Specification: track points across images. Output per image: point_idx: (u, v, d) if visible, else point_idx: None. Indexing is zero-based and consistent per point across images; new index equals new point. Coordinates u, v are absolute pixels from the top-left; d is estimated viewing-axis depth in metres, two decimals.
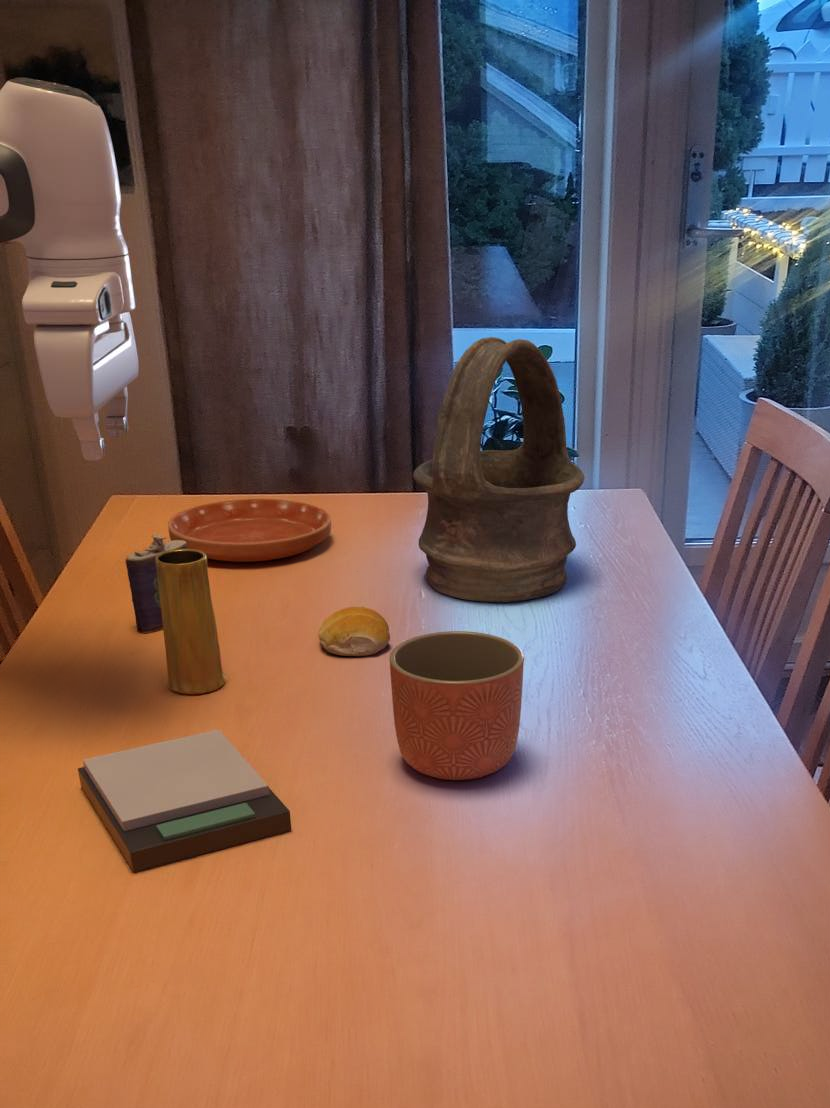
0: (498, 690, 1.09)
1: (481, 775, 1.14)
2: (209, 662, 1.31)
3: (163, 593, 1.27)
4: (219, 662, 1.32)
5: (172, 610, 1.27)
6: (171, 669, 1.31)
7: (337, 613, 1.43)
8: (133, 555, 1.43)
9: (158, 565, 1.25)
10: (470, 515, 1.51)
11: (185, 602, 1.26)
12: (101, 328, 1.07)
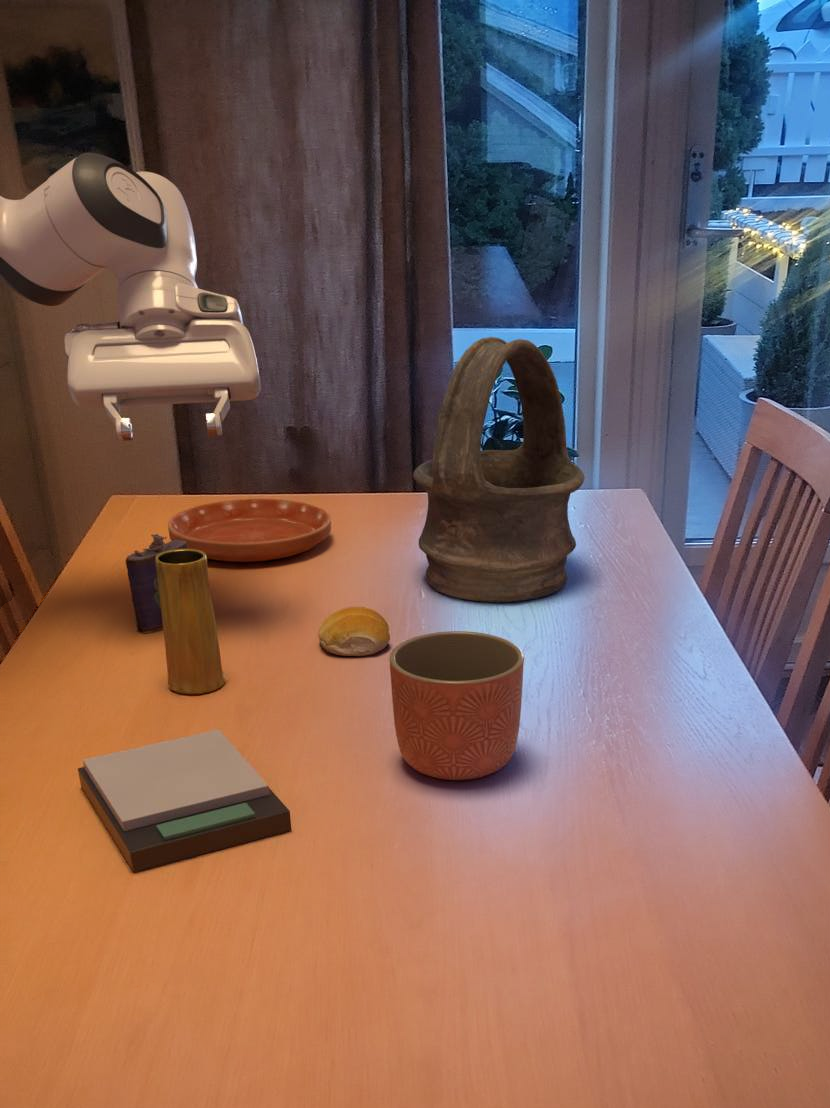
0: (498, 690, 1.09)
1: (481, 775, 1.14)
2: (209, 662, 1.31)
3: (163, 593, 1.27)
4: (219, 662, 1.32)
5: (172, 610, 1.27)
6: (171, 669, 1.31)
7: (337, 613, 1.43)
8: (133, 555, 1.43)
9: (158, 565, 1.25)
10: (470, 515, 1.51)
11: (185, 602, 1.26)
12: None
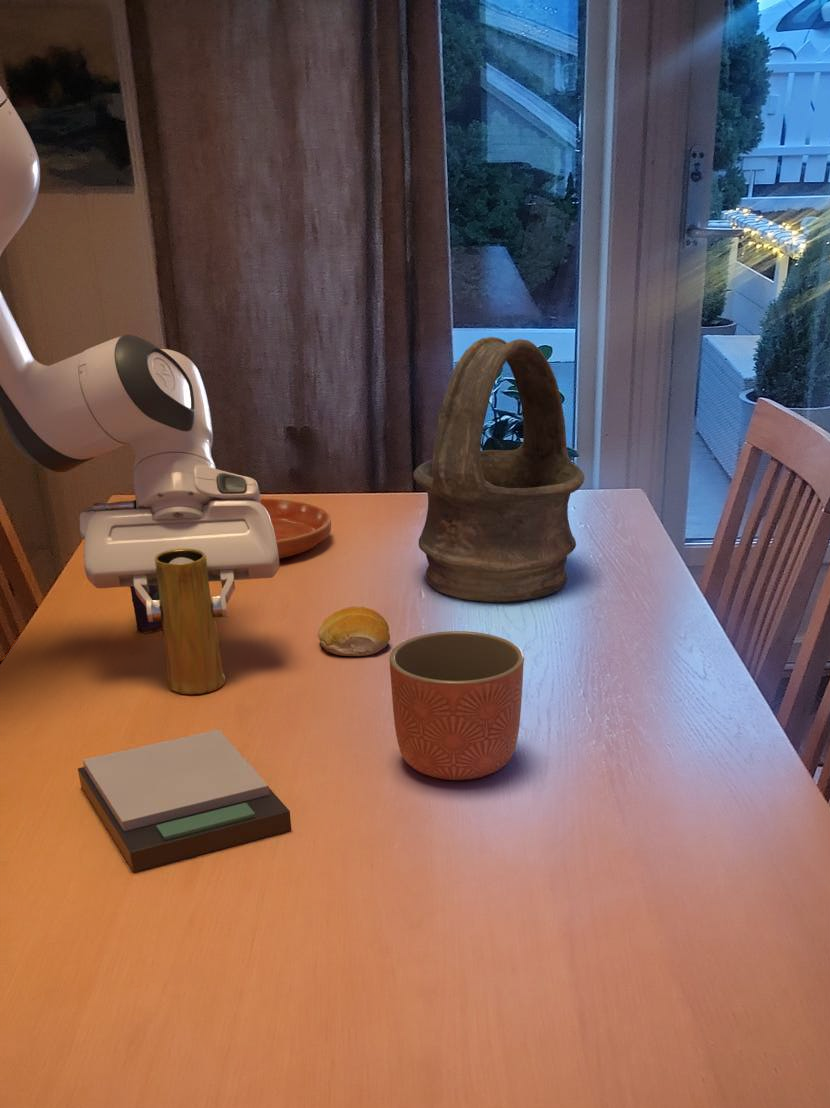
0: (498, 690, 1.09)
1: (481, 775, 1.14)
2: (209, 662, 1.31)
3: (163, 593, 1.27)
4: (219, 662, 1.32)
5: (171, 610, 1.27)
6: (171, 669, 1.31)
7: (337, 613, 1.43)
8: None
9: (158, 565, 1.25)
10: (470, 515, 1.51)
11: (185, 602, 1.26)
12: None
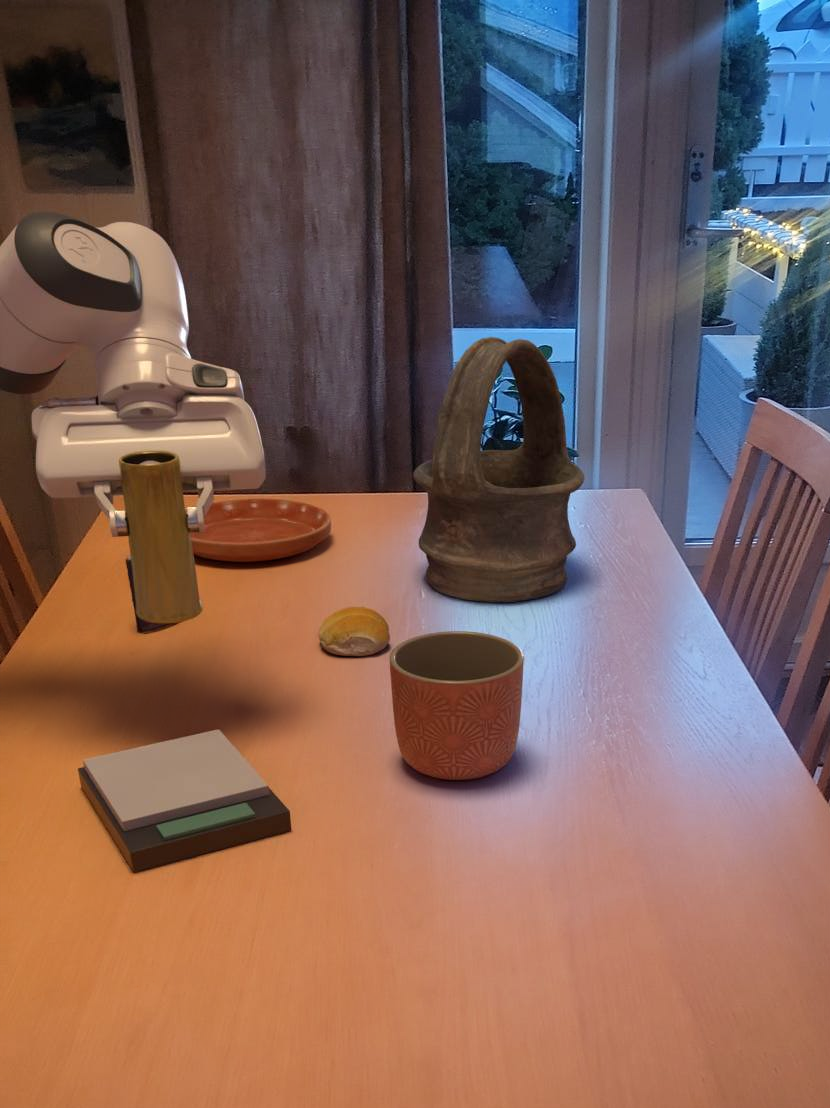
0: (498, 690, 1.09)
1: (481, 775, 1.14)
2: (183, 585, 1.12)
3: (128, 501, 1.08)
4: (195, 586, 1.13)
5: (139, 522, 1.08)
6: (139, 593, 1.12)
7: (337, 613, 1.43)
8: None
9: (122, 467, 1.06)
10: (470, 515, 1.51)
11: (154, 511, 1.07)
12: None
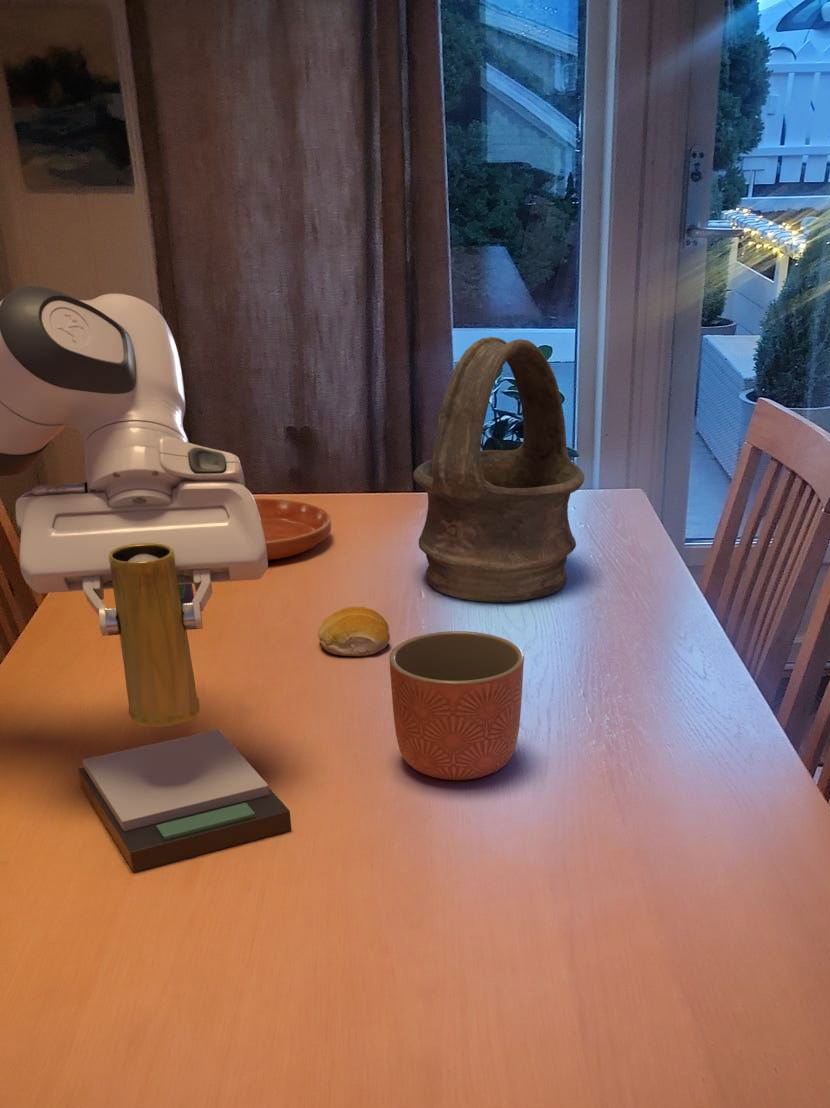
0: (498, 690, 1.09)
1: (481, 775, 1.14)
2: (179, 686, 1.04)
3: (119, 599, 1.00)
4: (192, 685, 1.05)
5: (131, 621, 1.00)
6: (132, 695, 1.04)
7: (337, 613, 1.43)
8: None
9: (112, 564, 0.98)
10: (470, 515, 1.51)
11: (147, 610, 0.99)
12: None
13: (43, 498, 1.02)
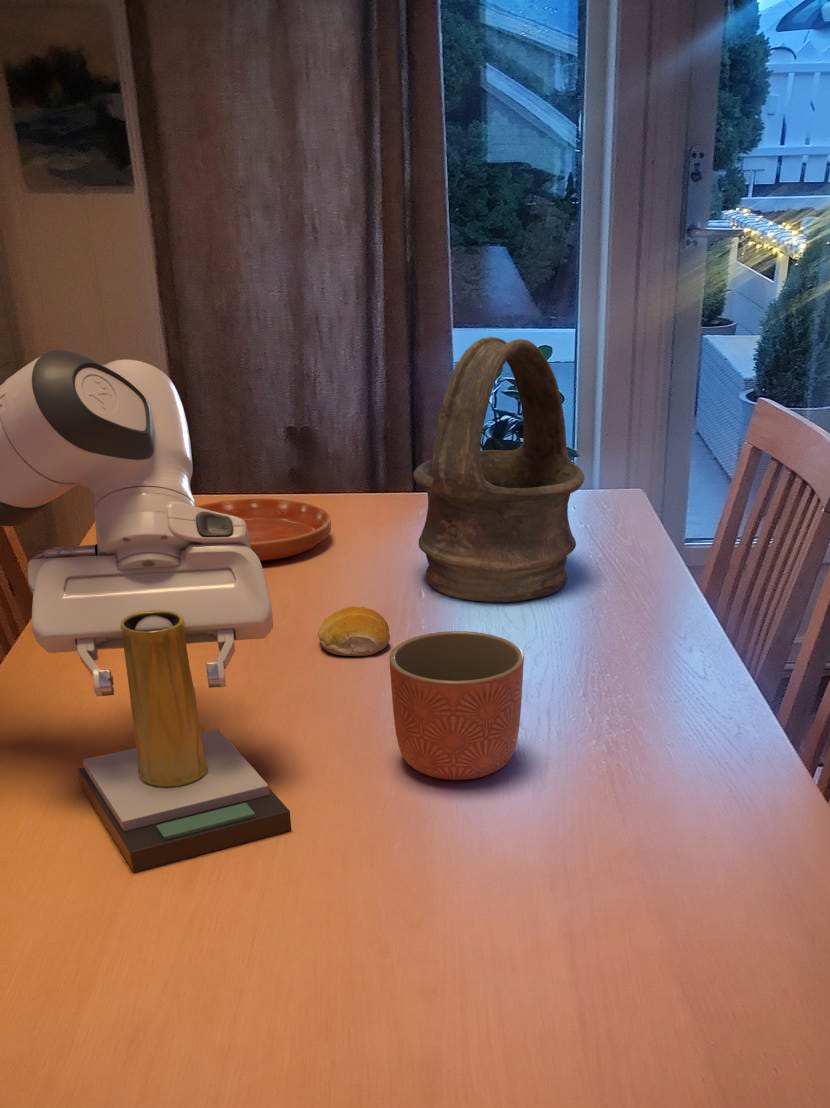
0: (498, 690, 1.09)
1: (481, 775, 1.14)
2: (188, 748, 1.07)
3: (130, 666, 1.03)
4: (200, 746, 1.08)
5: (141, 687, 1.03)
6: (141, 756, 1.07)
7: (337, 613, 1.43)
8: None
9: (124, 632, 1.01)
10: (470, 515, 1.51)
11: (158, 677, 1.02)
12: None
13: (55, 561, 1.05)
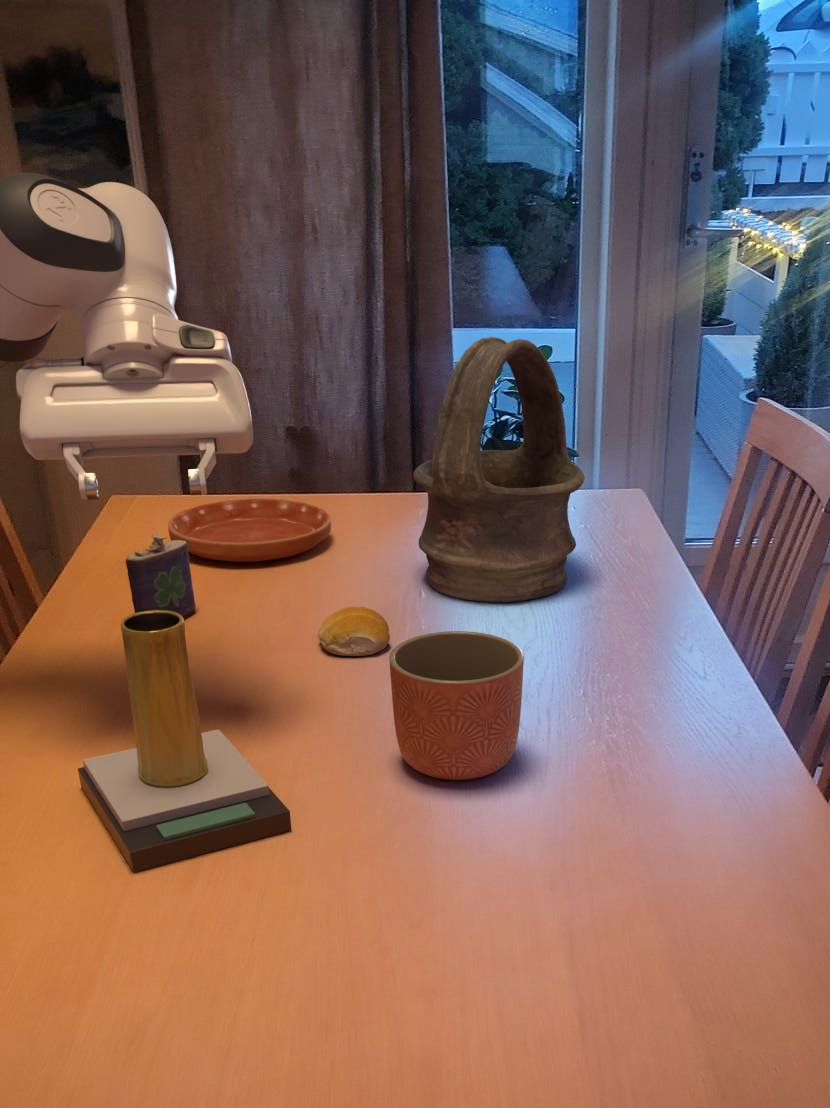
0: (498, 690, 1.09)
1: (481, 775, 1.14)
2: (188, 748, 1.07)
3: (130, 666, 1.03)
4: (200, 746, 1.08)
5: (141, 687, 1.03)
6: (141, 756, 1.07)
7: (337, 613, 1.43)
8: (133, 555, 1.43)
9: (124, 632, 1.01)
10: (470, 515, 1.51)
11: (157, 677, 1.02)
12: None
13: (42, 369, 1.08)
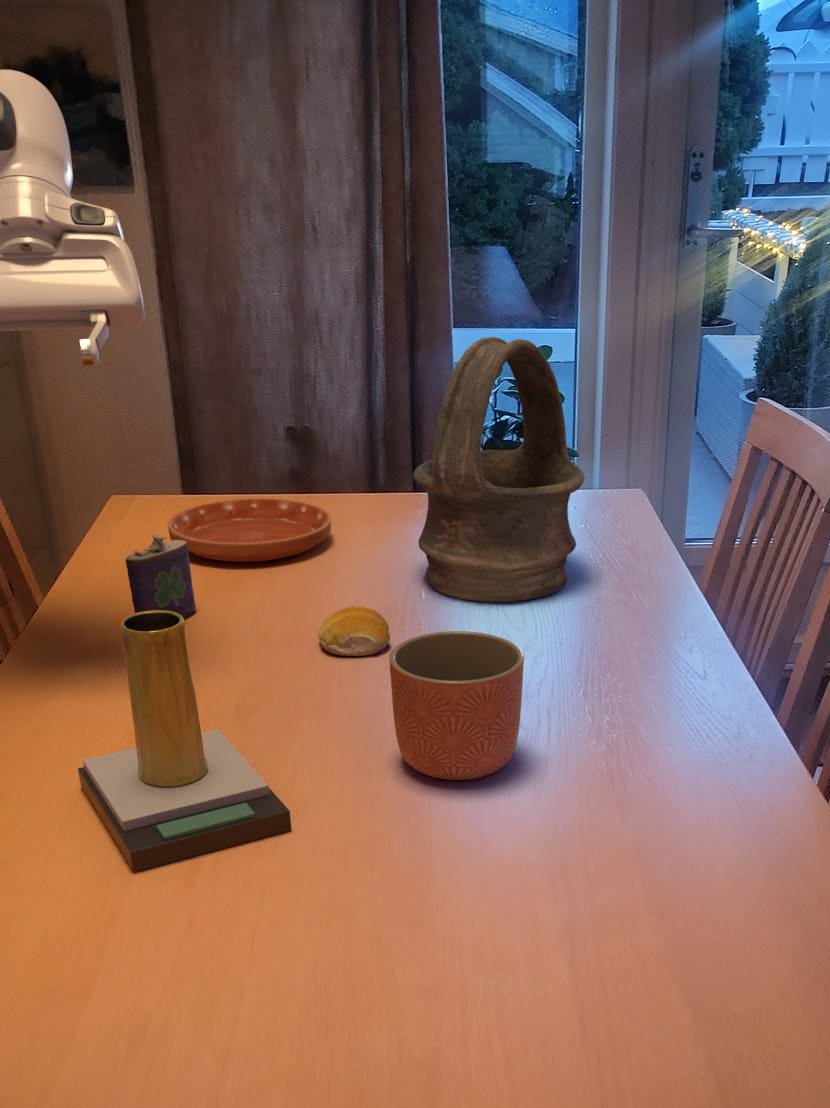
0: (498, 690, 1.09)
1: (481, 775, 1.14)
2: (188, 748, 1.07)
3: (130, 666, 1.03)
4: (200, 746, 1.08)
5: (141, 687, 1.03)
6: (141, 756, 1.07)
7: (337, 613, 1.43)
8: (133, 555, 1.43)
9: (124, 632, 1.01)
10: (470, 515, 1.51)
11: (157, 677, 1.02)
12: None
13: None
